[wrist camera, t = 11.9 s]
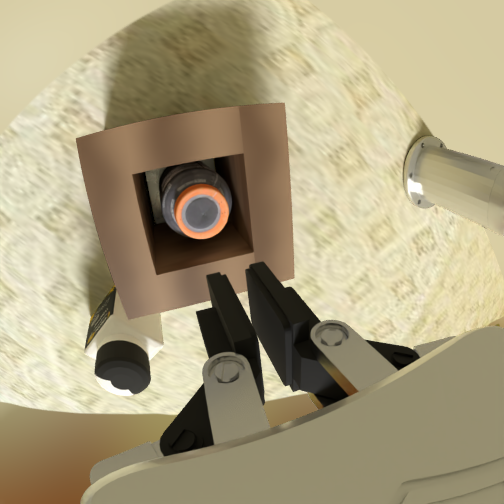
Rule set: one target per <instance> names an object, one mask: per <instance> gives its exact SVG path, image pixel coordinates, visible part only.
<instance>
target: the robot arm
mask: <svg viewBox="0 0 504 504" xmlns="http://www.w3.org/2000/svg"><path fill="white" fill-rule="evenodd" d="M404 187H405V191H406V194H407V197H408V198H409V200H410V201H411V202H412V204H414V205H415V206H417V207H420V208H424V209H426V208H430V207H432V206H434V205H438V206H440V207H442V208H444V209H447V210H449V211H451V212H453V213H456V214H458V215H460V216H462V217H464V218H466V219H468V220H470V221H472V222H474V223H476V224H478V225H480V226H482V227H484V228H486V229H489V230H491V231H493V232H494V233H496V234H499V235H501V236H504V166H503V165H500V164H496V163H493V162H490V161H487V160H484V159H481V158H477V157H474V156H471V155H467V154H464V153H460V152H456V151H453V150H449V149H447V148H446V146H445V145H444V143H443V142H442V141H441V140H440V139H438V138H437V137H433V136H424V137H421V138H420V139H418V140H417V141H416V142H415V143H414V144H413V146H412V147H411V149H410V151H409V153H408V155H407V158H406V162H405V167H404ZM245 274H246V282H247V290H248V298H249V306H250V314H251V321H252V324H251V322H250V320H249V318H248V316H247V314H246V312H245V310H244V308H243V306H242V305H241V303H240V301H239V299H238V297H237V295H236V293H235V291H234V289H233V287H232V285H231V283H230V281H229V279H228V277H227V275H226V274H224V275H221V273H220V272H217V273H212V274H208V275H206V279H207V284H208V289H209V293H210V298H211V303H212V308H208V309H204V310H200V311H196V315H197V318H198V322H199V326H200V330H201V333H202V337H203V340H204V344H205V347H206V350H207V354H208V357H209V359H208V360H207V361H206V362H205V364H204V366H203V371H202V374H203V381H204V383H203V384H202V386H201V387H200V388H199V390H198V391H197V392H196V393H195V395H194V396H193V397H192V398H191V400H190V401H189V402H188V403H187V405H186V406H185V407H184V408H183V409H182V411H181V412H180V413H179V414H178V416H177V417H176V418H175V419H174V421H173V422H172V423H171V424H170V426H169V427H168V428H167V429H166V430H165V432H164V433H163V435H162V436H161V438H160V440H158V441H156V442H154V443H152V444H151V442H146V443H144V444H142V445H140V446H137V447H135V448H133V449H130V450H128V451H125V452H123V453H120V454H118V455H115V456H113V457H110V458H108V459H105V460H102V461H100V462H98V463H97V464H95V465H94V467H93V468H92V469H91V473H90V481H91V484H92V485H91V486H90V487H89V488H88V489H87V490H86V491H85V493H84V495H83V497H82V499H81V502H80V504H504V328H502V327H498V326H485V327H480V328H475V329H473V330H470V331H467V332H465V333H462V334H460V335H458V336H453V337H448V338H444V339H441V340H437V341H433V342H430V343H426V344H422V345H418V346H414V348H413V350H412V349H410V348H408V347H405V346H399V345H393V344H387V343H381V342H375V341H369V340H364V339H363V338H362V337H361V336H360V335H359V334H358V333H356V332H355V331H354V330H353V329H352V328H351V327H350V326H348V325H347V324H345V323H344V322H341V321H337V320H326V321H322V322H321V321H320V320H319V319H318V318H317V317H316V315H315V314H314V313H313V312H312V311H311V309H310V308H309V307H308V306H307V305H306V303H305V302H304V301H303V300H302V299H301V297H300V296H299V295H298V294H297V293H296V291H295V290H294V289H293V288H292V287H287V288H284V286H283V285H282V284H281V283H280V281H279V280H278V279H277V278H276V276H275V275H274V274H273V273H272V271H271V270H270V269H269V267H268V266H267V265H266V264H265V262H263V261H262V262H258V263H253V264H250V265H249V268H248V269H246V270H245ZM252 325H253V326H252ZM257 336H258V338H259V340H260V342H261V343H262V345H263V347H264V349H265V351H266V353H267V355H268V357H269V358H270V360H271V362H272V364H273V366H274V368H275V369H276V371H277V373H278V375H279V377H280V379H281V380H282V382H283V384H284V385H285V386H288V385H290V387H291V389H292V391H293V392H294V391H297V390H302V391H305V392H307V393H308V396H309V398H310V399H311V401H312V402H313V403H314V405H315V406H316V407H317V409H318V410H317V411H315V412H312V413H310V414H307V415H305V416H302V417H300V418H297V419H295V420H292V421H289V422H287V423H284V424H281V425H278V426H276V427H273V428H270V426H269V423H268V420H267V417H266V414H265V411H264V408H263V405H264V403H265V399H264V385H263V376H262V367H261V359H260V350H259V342H258V338H257Z"/></svg>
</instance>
